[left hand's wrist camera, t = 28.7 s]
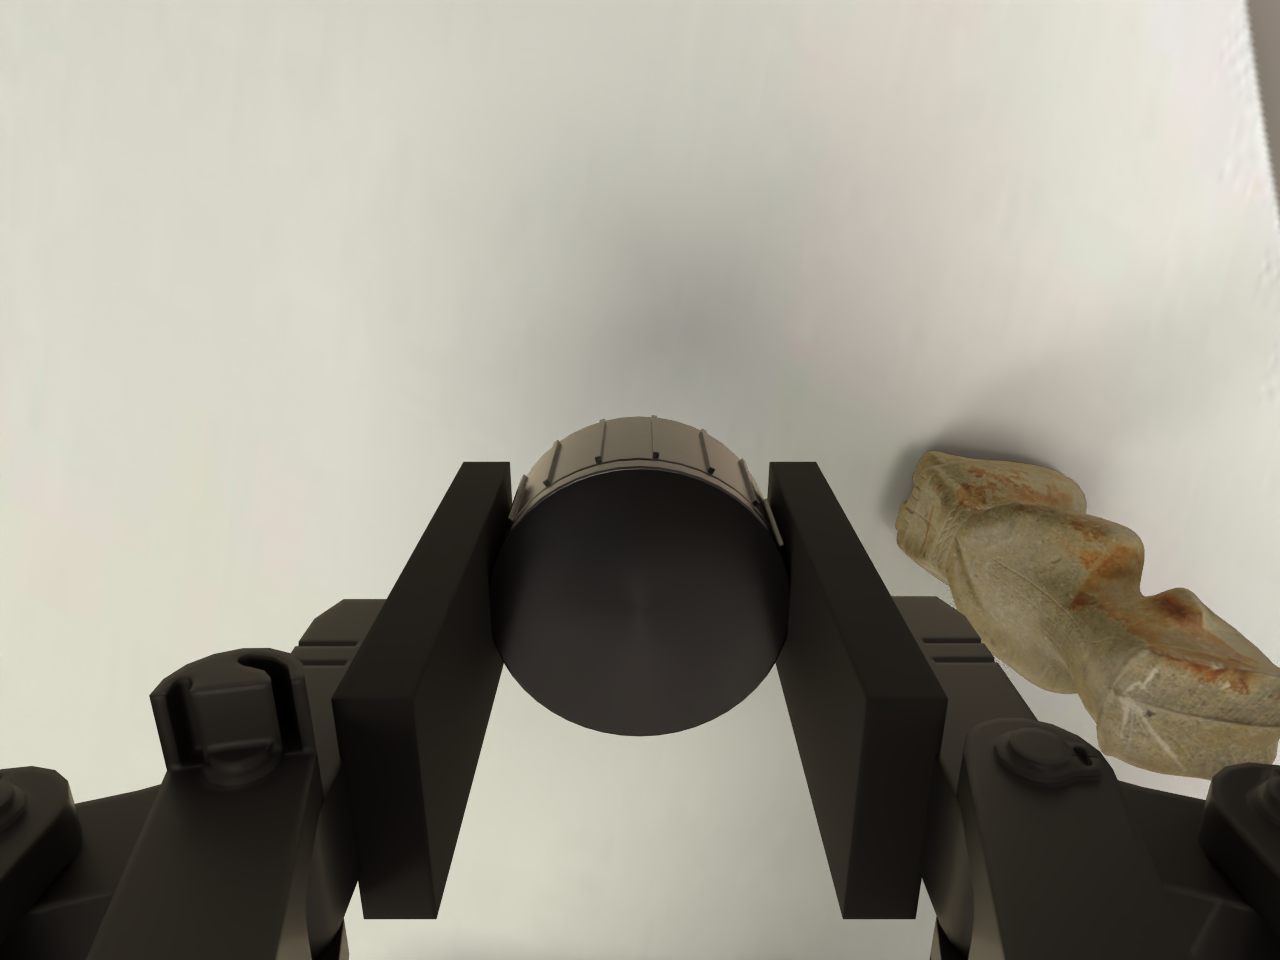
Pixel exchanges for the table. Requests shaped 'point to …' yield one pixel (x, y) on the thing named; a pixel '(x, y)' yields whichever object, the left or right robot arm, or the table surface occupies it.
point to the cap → (639, 579)
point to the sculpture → (1090, 616)
